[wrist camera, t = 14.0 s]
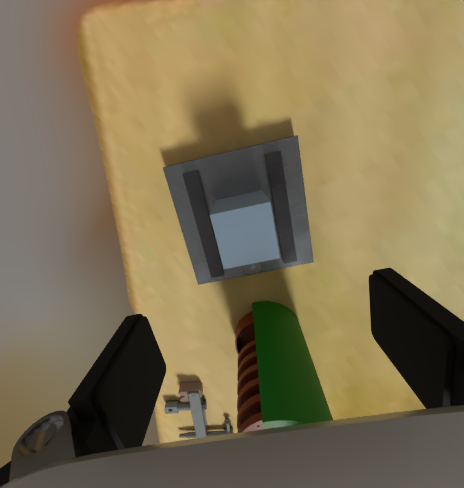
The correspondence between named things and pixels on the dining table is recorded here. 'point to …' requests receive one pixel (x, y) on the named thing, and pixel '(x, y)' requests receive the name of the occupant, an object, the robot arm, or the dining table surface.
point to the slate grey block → (245, 231)
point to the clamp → (195, 410)
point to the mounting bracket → (237, 183)
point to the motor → (275, 372)
